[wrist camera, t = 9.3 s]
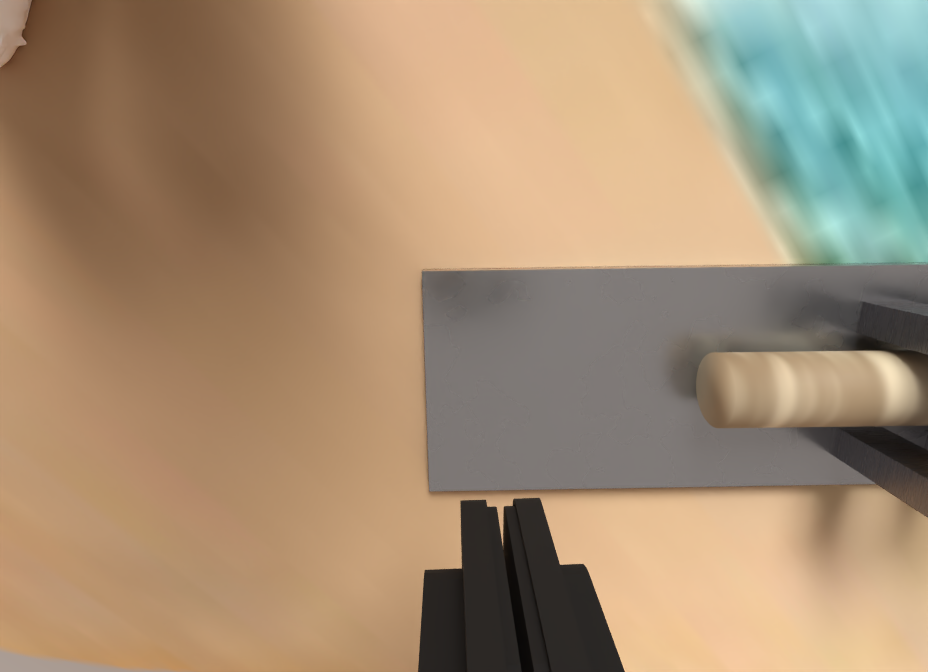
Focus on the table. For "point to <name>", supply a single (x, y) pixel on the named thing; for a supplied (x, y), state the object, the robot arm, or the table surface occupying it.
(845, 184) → the table surface
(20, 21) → the white creature statuette
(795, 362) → the dowel
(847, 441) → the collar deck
